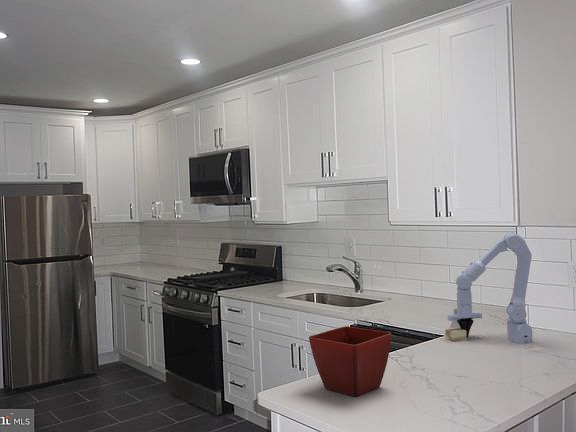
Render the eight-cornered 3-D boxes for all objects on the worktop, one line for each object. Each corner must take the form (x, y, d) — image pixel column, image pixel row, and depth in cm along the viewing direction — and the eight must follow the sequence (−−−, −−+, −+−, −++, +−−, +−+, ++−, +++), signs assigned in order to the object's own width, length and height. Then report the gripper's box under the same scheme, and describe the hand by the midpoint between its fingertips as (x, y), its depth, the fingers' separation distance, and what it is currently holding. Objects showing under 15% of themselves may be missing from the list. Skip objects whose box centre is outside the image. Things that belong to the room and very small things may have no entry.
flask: (455, 334, 235) (454, 311, 235) (446, 330, 242) (445, 308, 242) (469, 332, 237) (468, 310, 237) (460, 329, 244) (459, 307, 244)
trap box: (489, 342, 219) (489, 338, 219) (447, 346, 215) (447, 342, 215) (479, 338, 226) (479, 334, 226) (439, 342, 222) (439, 338, 222)
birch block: (466, 340, 217) (466, 330, 217) (453, 341, 216) (452, 331, 216) (458, 337, 223) (458, 327, 223) (445, 338, 222) (445, 328, 222)
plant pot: (308, 389, 169) (307, 336, 169) (347, 375, 182) (345, 325, 182) (357, 403, 155) (355, 345, 155) (395, 386, 169) (393, 333, 169)
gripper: (475, 301, 226) (476, 333, 226) (443, 303, 223) (444, 336, 223) (484, 303, 219) (485, 337, 219) (452, 306, 216) (453, 340, 216)
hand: (465, 336), depth 221 cm, fingers closed
